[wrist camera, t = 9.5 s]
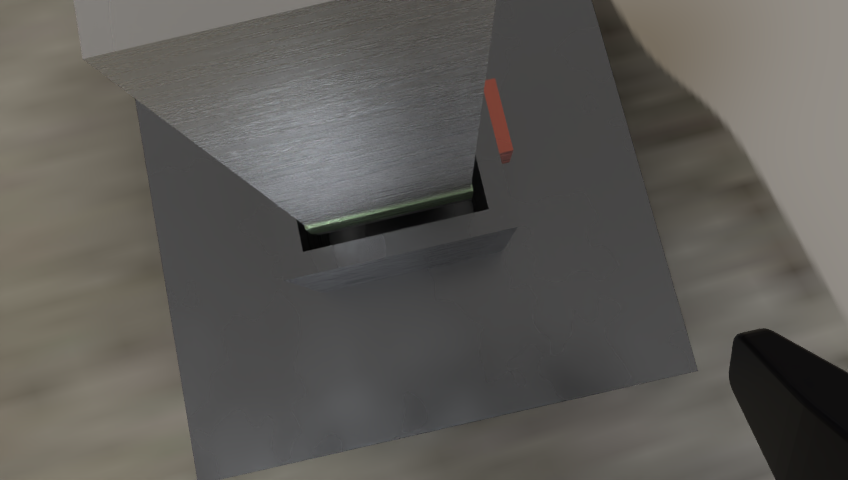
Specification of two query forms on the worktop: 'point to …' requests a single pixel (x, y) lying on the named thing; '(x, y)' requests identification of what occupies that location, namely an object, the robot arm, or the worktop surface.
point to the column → (311, 94)
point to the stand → (424, 274)
